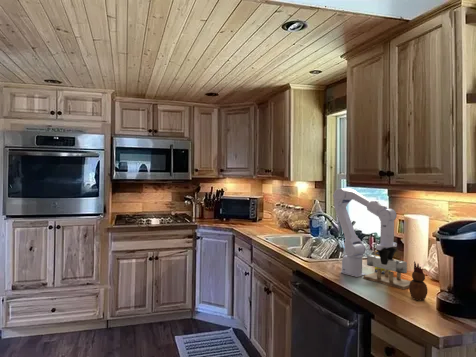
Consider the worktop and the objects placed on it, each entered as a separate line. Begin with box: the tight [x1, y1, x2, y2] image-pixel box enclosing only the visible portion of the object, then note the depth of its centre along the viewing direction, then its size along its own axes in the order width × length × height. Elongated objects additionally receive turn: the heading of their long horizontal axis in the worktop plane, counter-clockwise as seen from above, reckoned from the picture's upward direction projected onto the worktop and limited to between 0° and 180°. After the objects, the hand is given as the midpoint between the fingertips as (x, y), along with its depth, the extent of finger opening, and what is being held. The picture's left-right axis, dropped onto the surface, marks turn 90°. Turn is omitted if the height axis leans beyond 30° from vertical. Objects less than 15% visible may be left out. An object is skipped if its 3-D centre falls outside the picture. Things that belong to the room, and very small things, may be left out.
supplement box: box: [374, 250, 391, 275], centre depth 182 cm, size 6×6×11 cm
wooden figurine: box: [408, 261, 428, 302], centre depth 142 cm, size 7×6×15 cm
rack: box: [362, 269, 412, 290], centre depth 165 cm, size 20×11×6 cm, turn 38°
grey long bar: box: [366, 254, 408, 274], centre depth 164 cm, size 19×5×4 cm, turn 37°
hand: (386, 263), depth 164 cm, fingers closed on grey long bar, 3 cm apart
